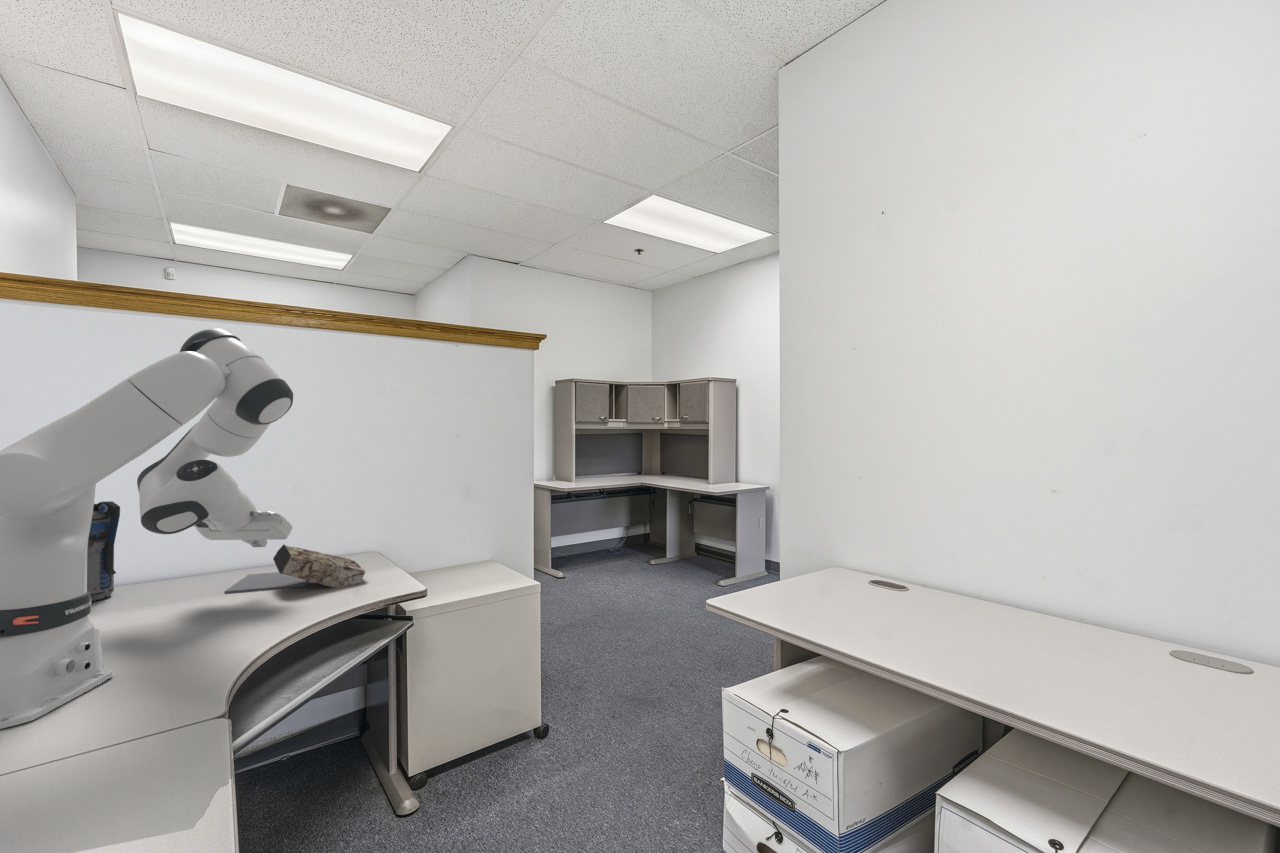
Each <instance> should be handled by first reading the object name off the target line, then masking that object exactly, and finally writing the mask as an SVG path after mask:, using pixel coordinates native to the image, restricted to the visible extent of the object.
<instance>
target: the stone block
mask: <svg viewBox="0 0 1280 853" xmlns="http://www.w3.org/2000/svg"><path fill="white" fill-rule="evenodd" d="M272 560H273V562H274V564H275V566H276V569H277V572H279V573H280V574H285V575H289V576H293V577H296V578H299V579H303V580H307V581H310V582H311V583H314V584H319V585H322V586H326V587H329V588H333V589H335V588H334V587H336V588H341V587H340V586H342V587H347V586H346V585H348V586H353V584H354V585H358V584H357V583H359V584H361V583H362V582H363V580H364V576H365V575H366V570H365V569H364V568H363V567H361V566H360V565H359V563H357V562H356V561H355V560H353V559H350V558H346V557H341V556H338V555H332V554H329V553H323V552H320V551H315V550H309V549H306V548H300V547H295V546H287V545H286V544H282V546H280V547H279V549H278V550H277V551H276V553H275V555H274V556H273V558H272ZM310 582H309V583H310Z"/></svg>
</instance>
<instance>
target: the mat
mask: <svg viewBox="0 0 1280 853" xmlns="http://www.w3.org/2000/svg"><path fill="white" fill-rule="evenodd" d="M308 582H309V581H307V580H303V579H299V578H296V577H293V576H289V575H285V574H280V573H279V571H277V572H275V571H274V572H264V573H263V572H262V573H261V572H260V573H249V574H247V575H246V576H245V577H243V578H241V579H240V580H238V581H237V582H236V583H234V584H232V585H231V586H230V587H229V588H227V589H226V590H223V591H224V593H226V594H235V593H234V592H238V593H246V592H245V591H249V592H257V591H256V590H261V591H270V590H269V589H273V590H282V589H281V588H285V589H292V588H291V587H297V588H305V587H306V586H307V585H308V584H309V583H310V582H309V583H308ZM307 583H308V584H307ZM306 584H307V585H306ZM305 585H306V586H305ZM302 586H303V587H302ZM304 586H305V587H304Z"/></svg>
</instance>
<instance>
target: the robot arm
mask: <svg viewBox="0 0 1280 853" xmlns="http://www.w3.org/2000/svg"><path fill="white" fill-rule="evenodd" d="M293 402H294V393H293V391H292V389H291V387H290V386H289V384H288V383H287V382H286V381H285V380H284V379H283V378H281V377H280V376H279V375H278V374H277V373H276V372H275V370H274V369H273V368H272V367H271V366H270V365H269V364H268V363H267V362H266V361H265V359H264V358H263V357H262V356H261V355H259V354H258V353H257V352H256V351H255V350H253V349H252V348H251V347H249V346H248V345H247V344H245V343H243V342H242V340H241V339H240V338H239V337H237V336H236V335H234V334H232V333H231V332H230V331H227V330H226V329H223V328H208V329H203V330H200V331H198V332H196V333H194V334H193V335H191V336H190V337H188V338H187V339H186V340H185V342H183V344H182V346H181V348H180V350H179V352H177V353H174V354H172V355H170V356H167V357H164V358H162V359H160V360H158V361H155V362H154V363H152V364H149V365H148V366H146V367H144V368H142V369H141V370H139V371H137V372H135V373H133V374H132V375H130V376H128V377H127V378H125V379H124V380H122V381H120V382H119V383H117V384H116V385H114V386H113V387H111V388H109V389H108V390H107V391H105V392H103V393H102V394H100V395H99V396H97V397H95V398H94V399H92V400H91V401H89V402H87V403H86V404H85V405H84V404H83V406H81V407H79V408H78V409H75V410H74V411H72V412H70V413H68V414H66V415H63V416H62V417H60V418H58V419H56V420H55V421H53V422H50V423H49V424H47V425H45V426H43V427H40V428H39V429H37V430H36V431H33V432H31V433H30V434H27V435H26V436H25V437H23V438H21V439H20V440H17V441H15V442H14V443H12V444H10V445H8V446H6V447H5V448H3V449H1V450H0V730H1V729H5V728H9V727H10V728H11V727H14V726H17V725H22V724H25V723H28V722H31V721H34V720H36V719H39V718H40V717H42V716H44V715H46V714H48V713H49V712H52V711H53V710H54V709H57V708H58V707H60V706H62V705H64V704H66V703H68V702H71V700H74V699H76V698H77V697H79V696H81V695H83V694H85V693H86V692H88V691H90V690H92V689H94V688H96V687H97V685H98V686H99V685H101V684H103V683H105V682H107V681H108V680H107V679H109V678H111V677H112V676H114V675H113V671H112V670H111V669H105V668H104V661H103V659H104V658H103V651H102V641H101V632H100V629H99V628H98V627H97V626H96V625H94V624H93V622H92V621H91V620H90V618H89V616H88V615H90V613H91V612H92V611H91V610H92V609H91V608H92V607H91V606H92V603H93V602H91V598H90V592H88V591H87V547H88V538H89V532H90V526H91V520H92V514H93V506H94V504H95V497H96V486H97V483H99V482H100V481H102V480H104V479H105V478H107V477H108V476H110V475H111V474H113V473H114V472H116V471H118V470H120V469H121V468H122V467H124V466H126V465H127V464H129V463H131V462H132V461H134V460H136V459H137V458H138V457H140V456H142V455H143V454H144V453H146V452H148V451H149V450H151V449H152V448H154V447H155V446H156V445H157V444H159V443H160V442H162V441H164V440H165V439H166V438H167V437H169V436H171V434H173V433H174V432H176V431H177V430H179V429H180V428H181V427H183V426H184V425H186V424H187V423H189V422H190V421H191V420H193V419H194V418H195V417H197V416H198V415H199V414H201V412H202V411H203V410H205V409H206V408H207V409H206V411H205V412H204V414H203V415H202V416H201V418H200V419H199V420H198V421H197V422H196V423H195V424H194V425H193V426H192V427H191V428H190V429H189V430H188V431H186V433H185V434H184V436H182V437H181V438H180V440H178V441H177V443H175V445H174V446H173V447H172V448H171V449H170V451H169V452H168V453H167V454H166V455H164V456H163V457H162V458H160V459H159V460H157V461H156V462H154V463H152V464H151V465H149V466H147V467H146V468H144V469H143V470H142V471H141V472H140V473H139V475H138V477H137V480H136V484H137V490H138V494H139V497H138V498H139V514H140V523H141V526H142V527H143V528H144V529H145V530H147V531H149V532H151V533H155V534H158V535H159V534H160V535H174V534H178V533H181V532H184V531H185V530H188V529H189V528H191V527H194V528H195V530H197V532H198V533H199V534H200V535H201V536H202V537H203V538H205V539H207V540H210V541H242V542H244V543H246V544H249V545H250V546H251V547H252V548H265V547H266V546H267V544H268V540H273V541H274V540H276V541H277V540H278V541H279V540H287V538H289V536H290V534H291V532H292V530H293V525H292V524H291V522H289V521H288V520H287V519H286V518H285V516H283V515H282V514H280V513H279V512H276V511H269V510H266V511H261V510H259V511H257V506H256V505H255V504H254V502H253V501H252V500H251V498H250V497H249V496H248V495H247V494H246V493H245V491H243V490H241V489H240V488H239V485H238V483H237V481H236V480H235V479H234V477H233V476H232V475H231V474H230V473H229V472H228V471H227V470H226V469H225V468H224V467H222V466H221V465H220V464H218V463H217V462H215V461H212V460H209V459H207V458H208V457H209V456H210V455H211V454H212V455H215V456H219V457H225V458H226V457H227V458H231V457H232V458H233V457H238V456H242V455H244V454H245V453H247V452H248V451H249V450H250V449H252V447H254V446H255V444H256V443H257V442H258V441H259V440H260V439H261V437H262V436H263V434H264V433H265V432H266V430H268V428H269V427H270V424H272V423H274V422H277V421H278V420H280V419H281V418H282V417H284V416H285V415H286V414H287V413H288V412H289V411H290V409H291V408H292V406H293ZM209 405H210V406H209ZM112 678H113V677H112ZM112 678H111V679H112ZM106 680H107V681H106ZM109 680H110V679H109ZM104 681H105V682H104ZM102 682H103V683H102ZM95 686H96V687H95ZM93 687H94V688H93ZM84 692H85V693H84Z"/></svg>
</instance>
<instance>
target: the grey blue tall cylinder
mask: <svg viewBox="0 0 1280 853" xmlns="http://www.w3.org/2000/svg"><path fill="white" fill-rule="evenodd" d="M120 513H121V506H120V505H119V504H117V503H116V502H115V501H113V500H112V501H111V500H110V501H100V502H97V503H94V506H93V514H92V520H91V526H90V532H89V538H88V547H87V591H88V592H90V598H91V602H92V601H94V602H97V601H96V600H98V601H101V600H104V599H105V598H108V597H110V596H111V595H112V594H113V593H114V590H115V589H114V588H115V586H114V585H115V583H114V582H115V574H117V572H116V571H115V542H116V537H117V532H118V526H119V522H120V517H121V514H120ZM103 598H104V599H103ZM100 599H101V600H100ZM92 603H93V602H92Z"/></svg>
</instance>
